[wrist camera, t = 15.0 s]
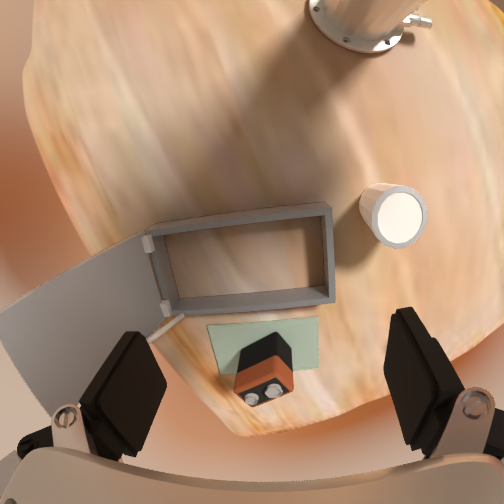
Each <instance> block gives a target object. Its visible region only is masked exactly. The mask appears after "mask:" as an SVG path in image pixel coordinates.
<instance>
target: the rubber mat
mask: <svg viewBox="0 0 504 504" xmlns="http://www.w3.org/2000/svg"><path fill="white" fill-rule="evenodd" d="M207 328H208V331H209V335H210V339H211V342H212V346H213V349H214V353H215V356H216V360H217V363H218V367H219V370H220V373H221V375H224V374H237V368H238V362H239V357H240V351H241V349H243V348H245V347H247V346H248V345H250V344H252V343H254V342H256V341H258V340H260V339H262V338H264V337H266V336H267V335H269V334H271V333H273V332H278V333H279V334H280V335H281V336H282V338H283V339H284V340H285V341H286V342H287V343H288V345H289V346H290V347H291V349H292V365H293V371H296V370H306V369H315V368H319V343H318V316H313V317H304V318H294V319H284V320H273V321H262V322H249V323H234V324H217V325H208V326H207Z"/></svg>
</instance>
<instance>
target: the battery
mask: <svg viewBox="0 0 504 504" xmlns="http://www.w3.org/2000/svg"><path fill="white" fill-rule="evenodd" d="M293 389H294V385H293V365H292V349H291V347H290V346H289V345H288V343H287V342H286V341H285V340H284V339H283V338H282V336H281V335H280V334H279V333H278V332H273V333H271V334H269V335H267V336H266V337H264V338H262V339H260V340H258V341H256V342H254V343H252V344H250V345H248V346H247V347H245V348H243V349H241V351H240V357H239V362H238V368H237V374H236V380H235V385H234V393H235V394H237V395H238V396H239V397H240V398H241V399H242V400H244V401H245V402H246V403H247V404H248V405H249V406H251V407H255V406H258V405H261V404H263V403H266V402H268V401H271V400H273V399H276V398H278V397H281V396H283V395H285V394H288V393H290V392H292V391H293Z"/></svg>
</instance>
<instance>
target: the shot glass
mask: <svg viewBox="0 0 504 504" xmlns="http://www.w3.org/2000/svg"><path fill="white" fill-rule="evenodd" d="M359 211H360V213H361V215H362V218H363V219H364V221H365V222H366V223H367V225H368V226H369V228H370V229H371V230H372V232H373V233H374V235H375V236H376V237H377V238H378V239H379V240H380V241H381V242H382V243H383V244H384V245H385V246H388V247H391V248H394V249H397V248H405V247H407V246H409V245H411V244H413V243H414V242H416V240H417V239H418V238H419V237H420V236H421V234H422V233H423V230H424V228H425V225H426V222H427V208H426V205H425V202H424V199H423V198H422V197H421V195H420V194H419V193H418V192H417V191H416V190H414V189H412V188H410V187H408V186H404V185H395V184H386V183H375V184H373V185H371V186H369V187H367V188H366V189H365V191H364V192H363V193H362V195H361V198H360V201H359Z"/></svg>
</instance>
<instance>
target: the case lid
mask: <svg viewBox="0 0 504 504" xmlns="http://www.w3.org/2000/svg"><path fill="white" fill-rule="evenodd" d="M142 237H144V235H143V232H142V233H136V234H134V235H132V236H130V237H128V238H126V239H124V240H122V241H120V242H118V243H116V244H114V245H112V246H110V247H108V248H106V249H104V250H102V251H100V252H99V253H97V254H95V255H93V256H91V257H90V258H87V259H86V260H84V261H82V262H80V263H78V264H76V265H74V266H73V267H71V268H69V269H67V270H66V271H64V272H62V273H60V274H58V275H57V276H55V277H53V278H52V279H50V280H48V281H47V282H45V283H43V284H41V285H40V286H38V287H36V288H35V289H33V290H31V291H30V292H28V293H26V294H25V295H23V296H21V297H20V298H18V299H17V300H15V301H13V302H12V303H10V304H9V305H7V306H5V307H4V308H2V309H1V310H0V340H1V342H2V344H3V346H4V348H5V350H6V352H7V353H8V355H9V357H10V359H11V360H12V362H13V364H14V365H15V367H16V369H17V370H18V372H19V373H20V375H21V377H22V378H23V380H24V381H25V383H26V384H27V386H28V387H29V389H30V390H31V392H32V393H33V395H34V396H35V397H36V399H37V400H38V401H39V403H40V404H41V406H42V407H43V408H44V410H45V411H46V412H47V413H48V414H49V416H50V417H51V419H52V416H53V414H54V413H55V411H56V410H57V409H58V408H60V407H61V406H63V405H66V404H74V405H78V403H79V402H78V401H79V400H80V398H81V396H82V395H83V393H84V392H85V390H86V389H87V387H88V386H89V384H90V383H91V381H92V379H93V378H94V376H95V375H96V373H97V372H98V370H99V369H100V367H101V366H102V364H103V363H104V361H105V360H106V358H107V357H108V355H109V354H110V353H111V351H112V350H113V348H114V347H115V345H116V344H117V342H118V341H119V340H120V338H121V337H122V335H123V334H124V333H125V332H126V331H139V332H140V333H141V334H142V335H144V336H145V337H146V338H147V337H148V336H149V335H150V334H151V333H152V332H153V331H154V330H155V329H156V328H157V327H158V326H159V325H161V324H162V323H163V322H164V321H165V320H166V319H167V317H164V315H163V312H162V309H161V306H160V303H162V300H161V297H160V294H159V290H158V287H157V284H156V280H155V277H154V273H153V270H152V266H151V262H150V259H149V255H148V253H145V251H144V247H143V243H142V239H141V238H142Z"/></svg>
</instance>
